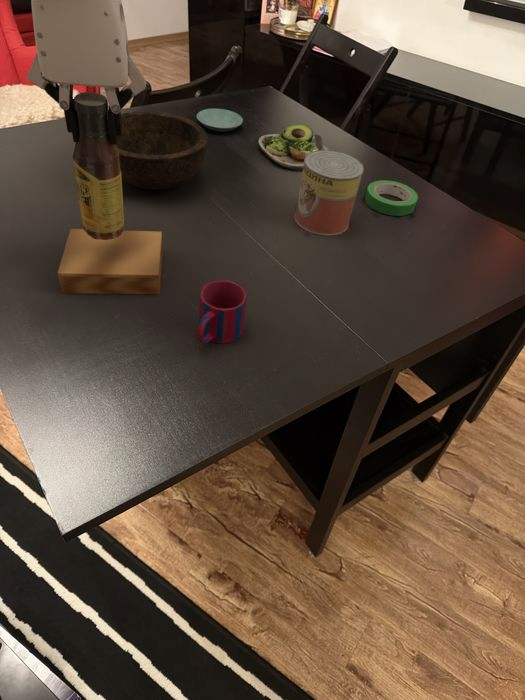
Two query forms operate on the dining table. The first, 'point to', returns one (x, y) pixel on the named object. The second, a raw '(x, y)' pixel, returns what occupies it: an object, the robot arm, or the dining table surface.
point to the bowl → (159, 149)
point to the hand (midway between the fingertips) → (96, 137)
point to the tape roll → (387, 205)
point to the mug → (221, 312)
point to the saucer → (219, 119)
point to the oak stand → (112, 263)
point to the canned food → (327, 192)
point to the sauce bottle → (97, 169)
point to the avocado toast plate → (291, 146)
